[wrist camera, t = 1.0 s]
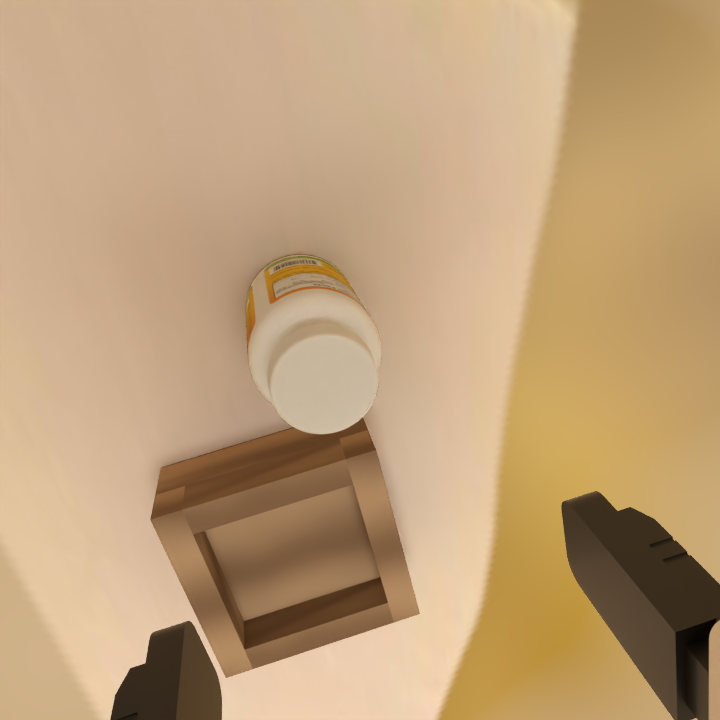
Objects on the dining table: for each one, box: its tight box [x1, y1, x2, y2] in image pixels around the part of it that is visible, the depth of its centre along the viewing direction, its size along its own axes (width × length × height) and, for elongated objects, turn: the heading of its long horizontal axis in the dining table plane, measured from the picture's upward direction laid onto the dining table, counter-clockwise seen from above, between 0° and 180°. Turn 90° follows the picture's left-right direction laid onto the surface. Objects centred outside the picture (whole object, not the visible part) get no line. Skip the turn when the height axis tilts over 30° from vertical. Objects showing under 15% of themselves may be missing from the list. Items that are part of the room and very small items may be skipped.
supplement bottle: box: [246, 255, 382, 434], centre depth 27 cm, size 5×5×10 cm
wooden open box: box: [150, 417, 420, 678], centre depth 34 cm, size 11×11×4 cm
